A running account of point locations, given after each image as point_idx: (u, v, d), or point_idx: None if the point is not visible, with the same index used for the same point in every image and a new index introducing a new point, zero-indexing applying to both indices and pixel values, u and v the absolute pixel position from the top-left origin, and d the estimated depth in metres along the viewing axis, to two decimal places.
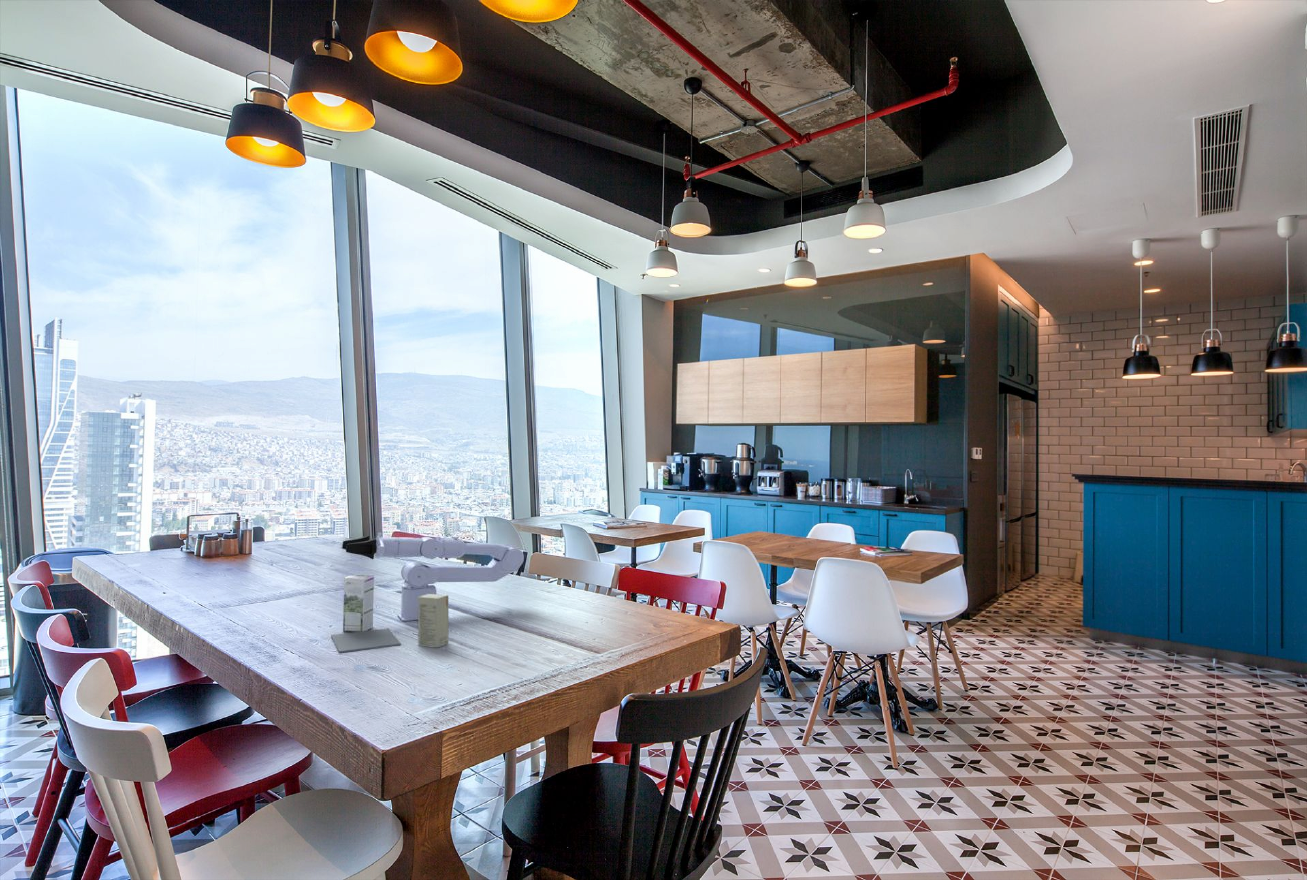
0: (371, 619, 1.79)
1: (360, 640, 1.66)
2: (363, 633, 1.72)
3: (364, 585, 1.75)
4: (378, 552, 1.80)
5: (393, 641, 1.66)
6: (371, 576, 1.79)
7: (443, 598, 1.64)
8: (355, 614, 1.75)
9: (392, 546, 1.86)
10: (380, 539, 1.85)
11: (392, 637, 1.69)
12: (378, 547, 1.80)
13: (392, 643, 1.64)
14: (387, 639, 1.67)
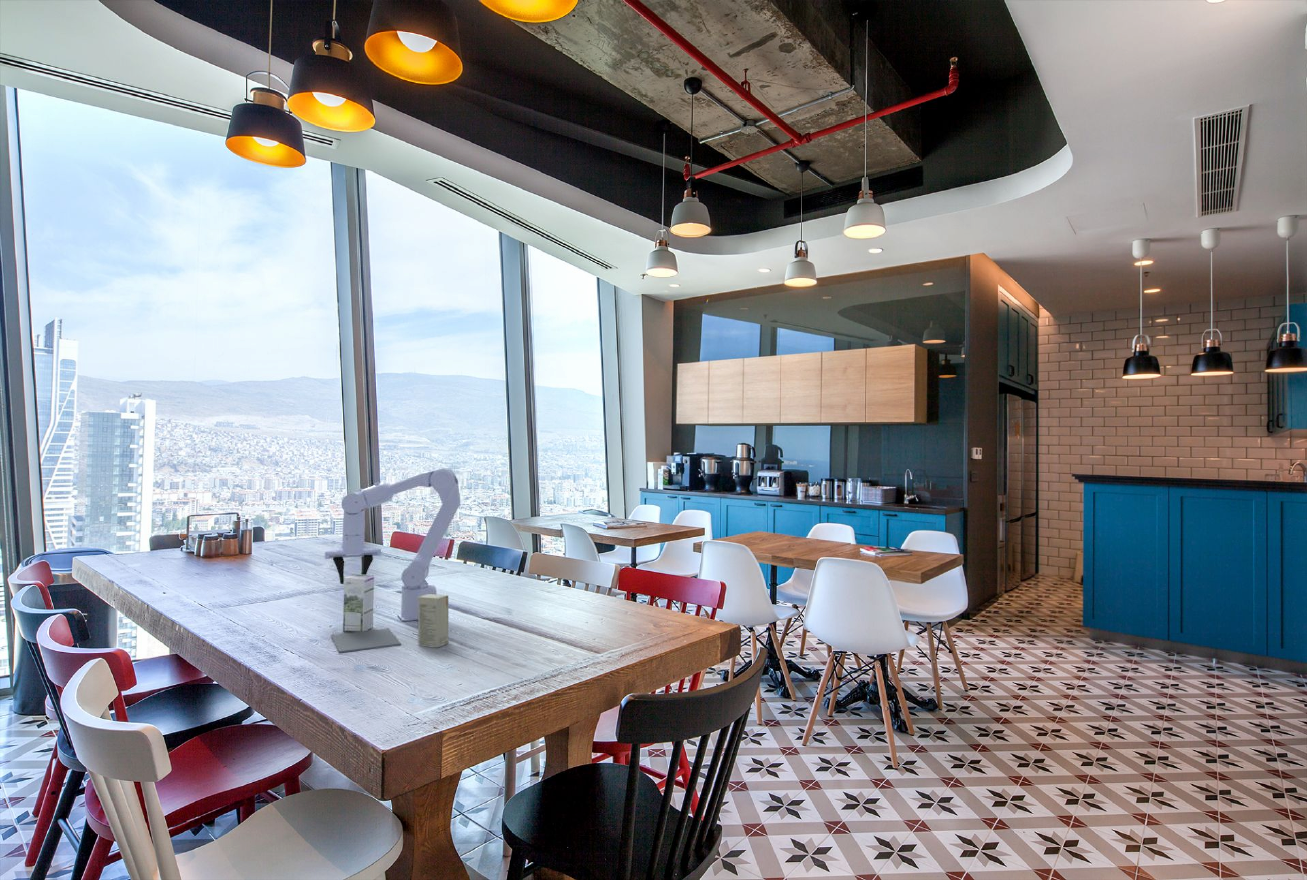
0: (371, 619, 1.79)
1: (360, 640, 1.66)
2: (363, 633, 1.72)
3: (364, 585, 1.75)
4: (325, 557, 1.84)
5: (393, 641, 1.66)
6: (371, 576, 1.79)
7: (443, 598, 1.64)
8: (355, 614, 1.75)
9: None
10: None
11: (392, 637, 1.69)
12: None
13: (392, 643, 1.64)
14: (387, 639, 1.67)
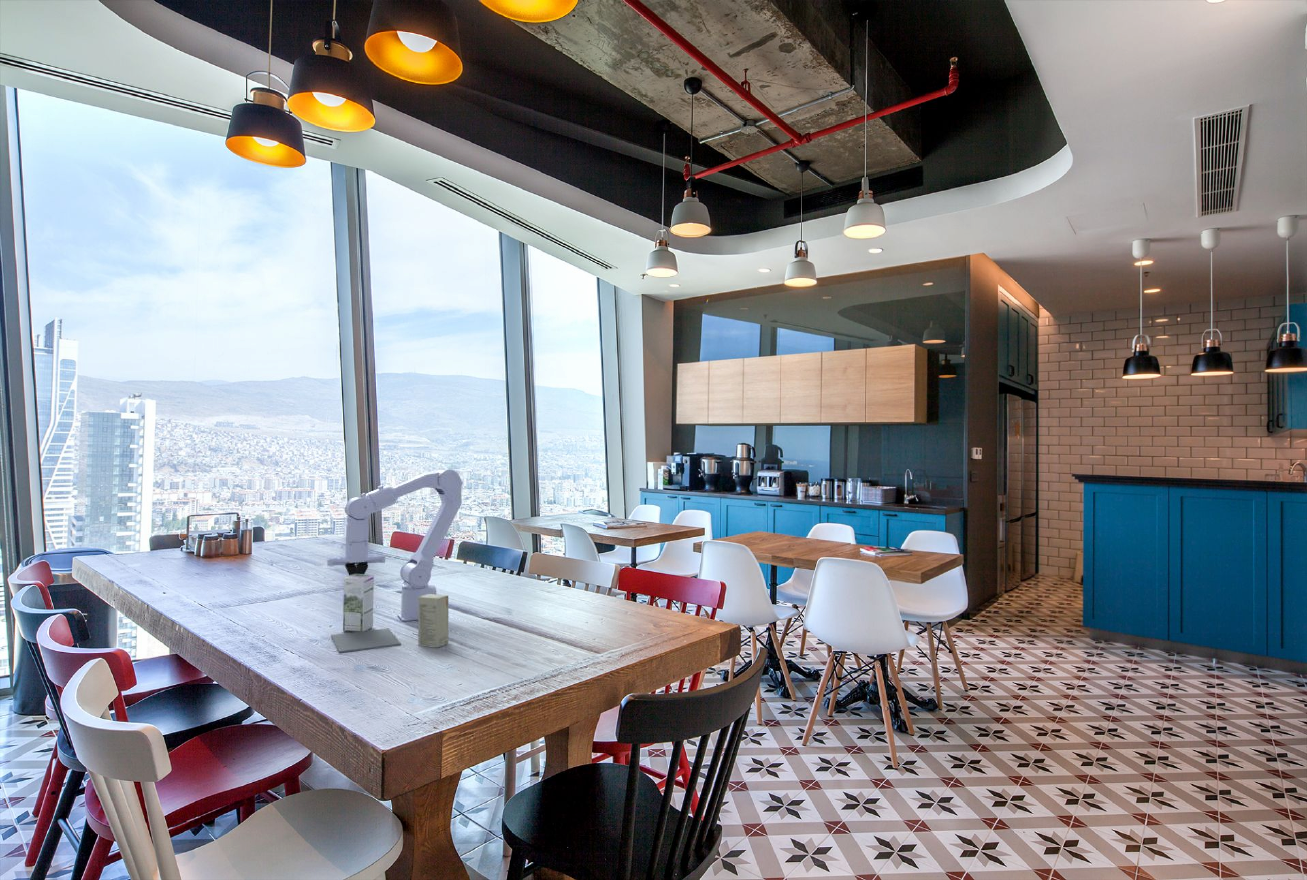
0: (371, 619, 1.79)
1: (360, 640, 1.66)
2: (363, 633, 1.72)
3: (364, 585, 1.74)
4: (327, 564, 1.78)
5: (393, 641, 1.66)
6: (371, 576, 1.78)
7: (443, 598, 1.64)
8: (355, 614, 1.74)
9: None
10: None
11: (392, 637, 1.69)
12: (327, 564, 1.79)
13: (392, 643, 1.64)
14: (387, 639, 1.67)
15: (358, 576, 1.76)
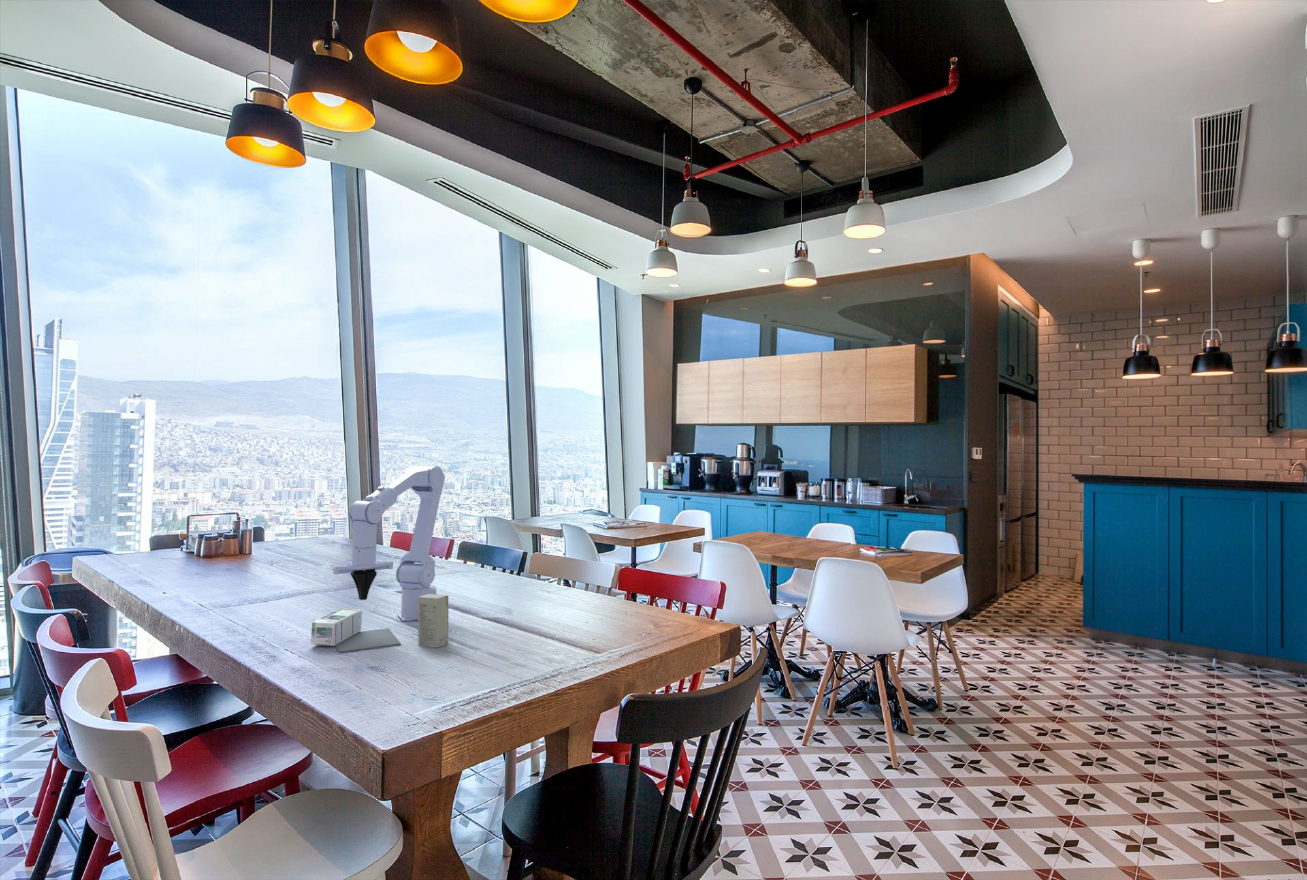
0: (357, 615, 1.73)
1: (360, 640, 1.66)
2: (363, 633, 1.72)
3: (337, 642, 1.62)
4: (334, 572, 1.67)
5: (393, 641, 1.66)
6: (334, 628, 1.61)
7: (443, 598, 1.64)
8: None
9: (352, 553, 1.71)
10: None
11: (392, 637, 1.69)
12: (333, 572, 1.68)
13: (392, 643, 1.64)
14: (387, 639, 1.67)
15: (323, 637, 1.61)
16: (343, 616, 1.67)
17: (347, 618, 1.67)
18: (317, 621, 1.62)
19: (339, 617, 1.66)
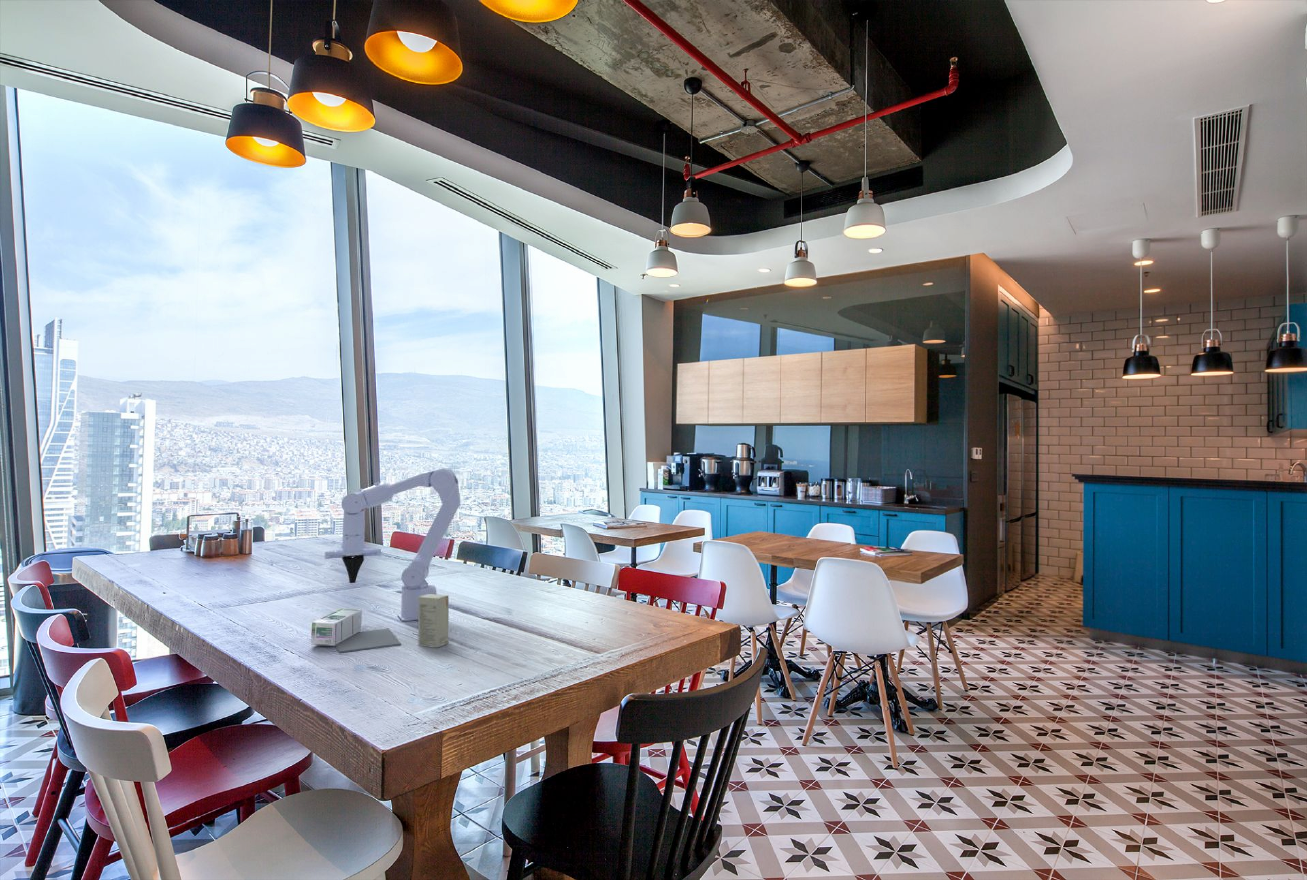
0: (357, 615, 1.73)
1: (360, 640, 1.66)
2: (363, 633, 1.72)
3: (337, 642, 1.62)
4: (325, 557, 1.84)
5: (393, 641, 1.66)
6: (334, 628, 1.61)
7: (443, 598, 1.64)
8: None
9: None
10: None
11: (392, 637, 1.69)
12: None
13: (392, 643, 1.64)
14: (387, 639, 1.67)
15: (323, 637, 1.61)
16: (343, 616, 1.67)
17: (347, 618, 1.67)
18: (317, 621, 1.62)
19: (339, 617, 1.66)
